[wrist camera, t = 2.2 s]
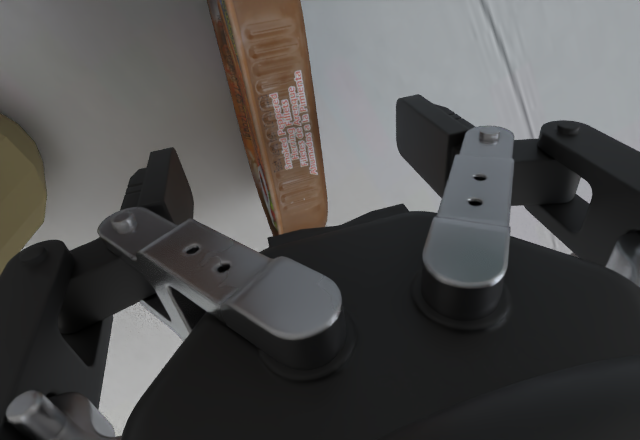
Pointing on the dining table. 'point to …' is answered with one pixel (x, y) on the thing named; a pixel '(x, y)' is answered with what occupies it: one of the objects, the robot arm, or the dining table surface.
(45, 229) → the dining table surface
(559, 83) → the dining table surface
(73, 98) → the dining table surface
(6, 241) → the squeeze bottle
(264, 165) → the tin
